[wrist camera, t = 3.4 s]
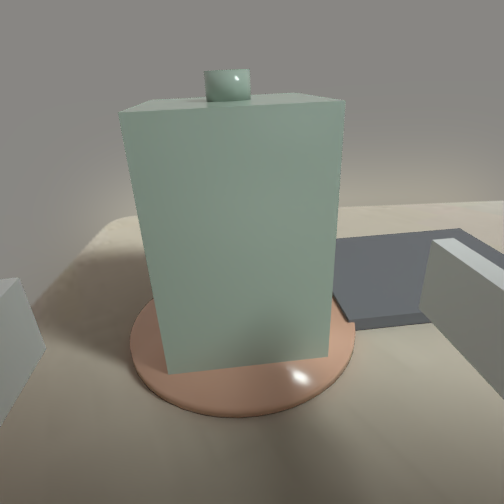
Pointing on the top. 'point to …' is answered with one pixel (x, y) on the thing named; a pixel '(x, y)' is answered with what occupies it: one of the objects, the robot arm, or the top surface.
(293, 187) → the cover
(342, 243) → the mat
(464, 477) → the top surface
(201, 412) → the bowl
